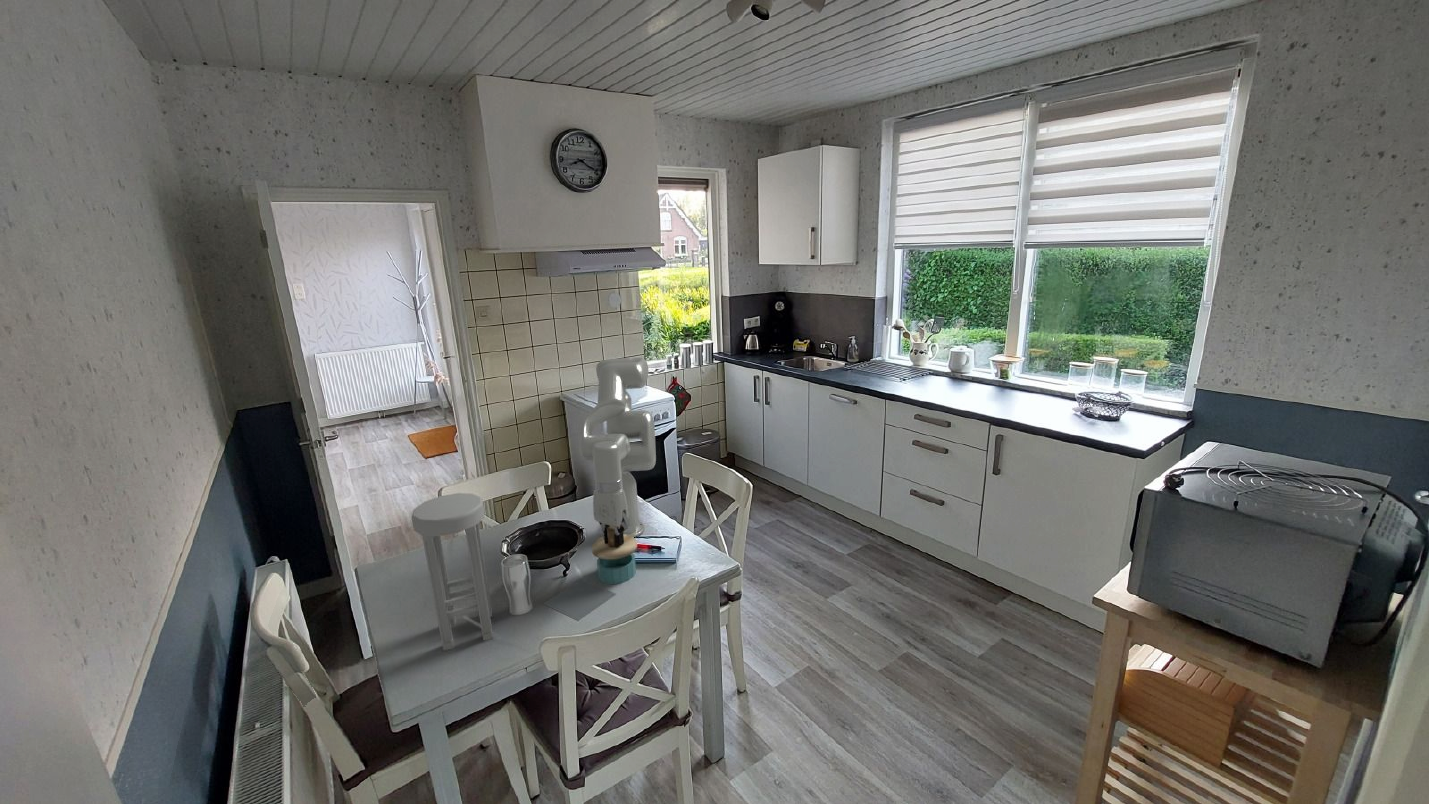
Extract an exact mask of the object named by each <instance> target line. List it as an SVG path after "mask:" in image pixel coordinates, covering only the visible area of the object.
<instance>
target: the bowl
mask: <svg viewBox="0 0 1429 804" xmlns="http://www.w3.org/2000/svg"><path fill="white" fill-rule="evenodd" d="M635 557H636V556H635V554H634V552H633V553H632V554H630V555H628V556H626V557H623V558H618V559H601V558H598V557H597V560H596V567H597V569H596V570H597V577H598V579H599V580H600V582H602V583H605V584H609V585H611V584H613V585H616V584H621V583H625V582H627V581H630V580H631V579H633V578H634V577H635V575H636V574H637V569H636V568H637V567H636V558H635Z"/></svg>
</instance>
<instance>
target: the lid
mask: <svg viewBox="0 0 1429 804" xmlns="http://www.w3.org/2000/svg"><path fill="white" fill-rule="evenodd" d="M618 528H619V527H618ZM607 535H608V544H605V543H604V536H602V537H599V538H598V539H596V540H595V541H594V542H593V543H592V545H591V550H592V551H591V552H592V554H593V556H594V557H597V559H598V558H601V559H618V558H623V557H626V556H628V555H630V554H632V553H633V554H634V553H635V551H636V550H637V549H638V541H637V538H636V537H635V538H634V537H632V536H630V535H626V534H623V535H624V544H623V545H621V546H619V547H617V548H616V547H615V542H614V535H615V529H614V527H613V526H610V527H608V528H607Z"/></svg>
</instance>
